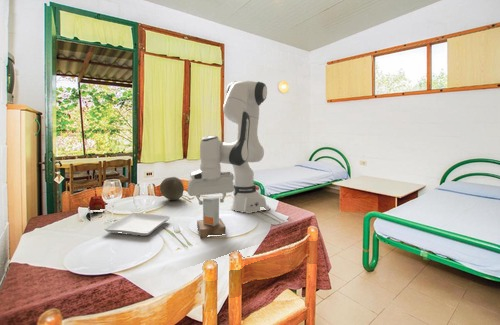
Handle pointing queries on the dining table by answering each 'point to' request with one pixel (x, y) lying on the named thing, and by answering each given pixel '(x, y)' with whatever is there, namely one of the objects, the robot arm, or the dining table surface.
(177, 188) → the dark brown ball
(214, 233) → the walnut base
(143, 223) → the salad plate
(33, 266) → the dining table surface
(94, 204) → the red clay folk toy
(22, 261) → the dining table surface
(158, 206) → the dining table surface
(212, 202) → the skincare box
